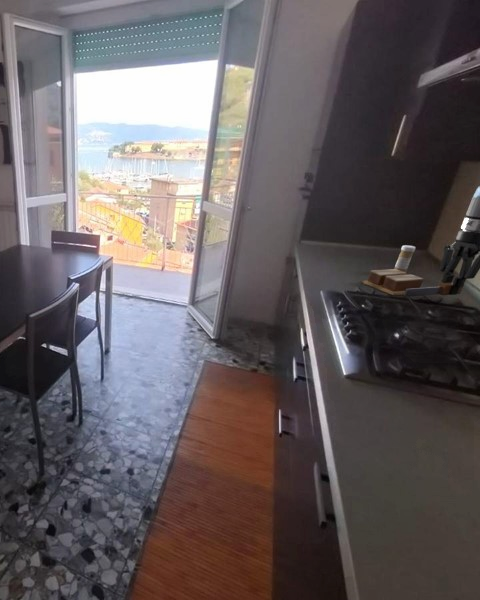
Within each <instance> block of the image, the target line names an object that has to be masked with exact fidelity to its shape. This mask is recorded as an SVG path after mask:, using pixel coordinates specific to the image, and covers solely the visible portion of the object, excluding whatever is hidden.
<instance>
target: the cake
mask: <svg viewBox="0 0 480 600" xmlns="http://www.w3.org/2000/svg"><path fill="white" fill-rule="evenodd" d="M423 281H424V278H423V277H420V276H418V275H414V274H407V271H406V272H403V271H400V270H397V269H394V268H390V269H374V270H373V269H372V270H370V273H369V275H368V279H367V280H362V283H363V285H367V286H369V287H372V288H374V289H376V290H379V291H381V292H384V293H386V294H390V295H391V296H398V295H404V294H405V292H406V289H413V288H421V286H422V284H423Z"/></svg>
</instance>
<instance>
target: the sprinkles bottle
mask: <svg viewBox="0 0 480 600" xmlns="http://www.w3.org/2000/svg"><path fill="white" fill-rule="evenodd" d="M400 249H401V250H400V252H399V255H398V258H397V261H396V262H395V265H394V268H393V269H397V270H400V271H403V272H406V273H407V270H408V268H409V265H410V262H411V260H412V257H413V254H414V252H415V251H416V246H414V245H408V244H405V245H402V246H401V248H400Z"/></svg>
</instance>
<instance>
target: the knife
mask: <svg viewBox="0 0 480 600" xmlns="http://www.w3.org/2000/svg"><path fill="white" fill-rule="evenodd" d="M453 282H454V281H452V282H451V283H443V282H439V283H438V285H437V286H429V287H420V288H413V289H406V292H405V294H403V298H404V297H405V298H406V297H407V298H408V297H418V296H419V297H420V296H436V295H440V296H450V295H449V292H450V289H451V287H452V284H453ZM464 286H465V284H464V285H463V286H462V287H460V288H459V290H458V292H457V295H461V293H462V291H463V288H464Z"/></svg>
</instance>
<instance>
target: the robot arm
mask: <svg viewBox="0 0 480 600" xmlns="http://www.w3.org/2000/svg"><path fill="white" fill-rule="evenodd" d="M461 260H462V262H461V266H460V270H459V274H458V276H456V277H455V275H454V274H455V271H456V268H457V267H458V265H459V263H460V261H461ZM479 271H480V185H479V186H478V187H477V188H476V190H475V192H474V194H473V196H472V197H471V201H470V203H469V206H468V208H467V210H466V214H465V216H464V217H463V220H462V223H461V225H460V230H458V232H457V235H456V237H455V241H454V242H453V243H452V244H445V245H443V253H442V258H441V261H440V265H439V272H441V273H442V274H443V276H442V278H441V283H451V282H453V284H452V287H451V289H450V292H449V295H448V296H455V295H458V294H457V292H458V290H459V288H460V287H462V286H463V285H464V286H465V282H466V280H470V279H475V278H476V276H477V274H478V272H479ZM464 286H463V287H464Z"/></svg>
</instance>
